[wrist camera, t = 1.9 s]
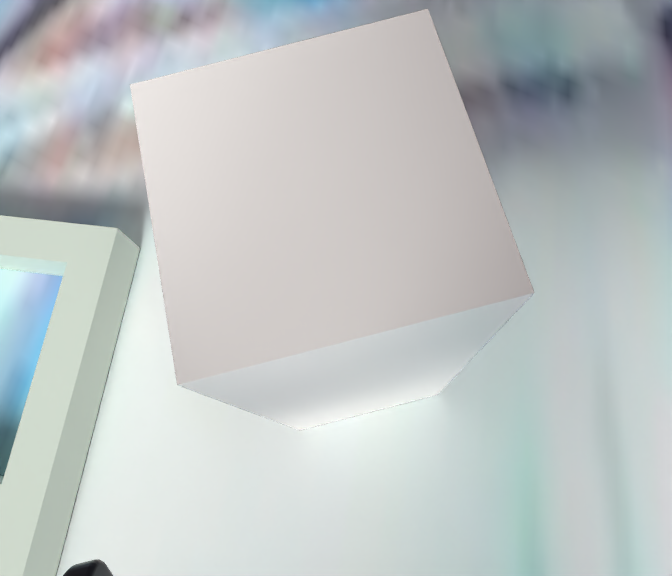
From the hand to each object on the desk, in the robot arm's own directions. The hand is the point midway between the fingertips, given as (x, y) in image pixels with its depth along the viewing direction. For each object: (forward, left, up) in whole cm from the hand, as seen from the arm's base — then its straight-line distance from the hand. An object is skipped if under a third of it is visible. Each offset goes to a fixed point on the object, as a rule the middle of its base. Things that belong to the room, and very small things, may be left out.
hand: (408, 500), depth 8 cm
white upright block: (+4, +2, -11) cm, 12 cm away
